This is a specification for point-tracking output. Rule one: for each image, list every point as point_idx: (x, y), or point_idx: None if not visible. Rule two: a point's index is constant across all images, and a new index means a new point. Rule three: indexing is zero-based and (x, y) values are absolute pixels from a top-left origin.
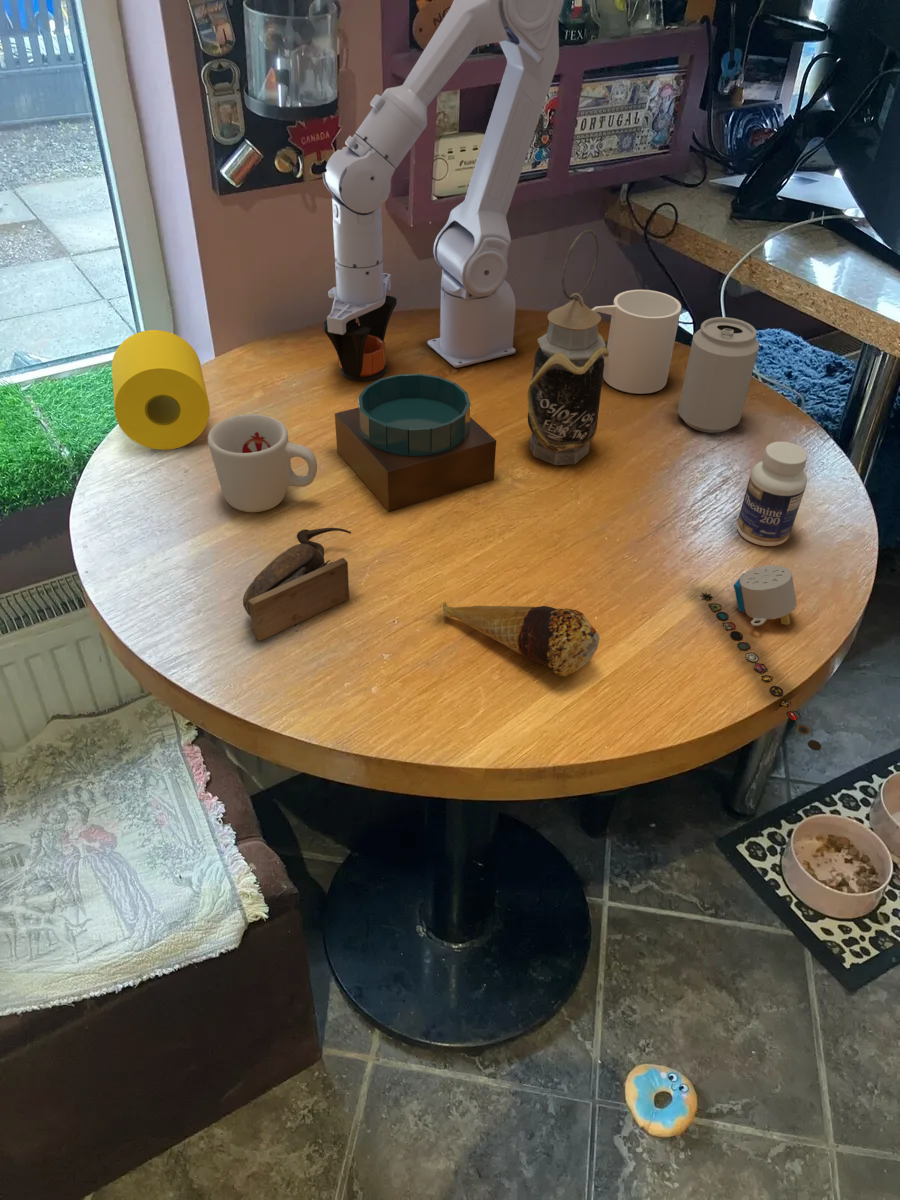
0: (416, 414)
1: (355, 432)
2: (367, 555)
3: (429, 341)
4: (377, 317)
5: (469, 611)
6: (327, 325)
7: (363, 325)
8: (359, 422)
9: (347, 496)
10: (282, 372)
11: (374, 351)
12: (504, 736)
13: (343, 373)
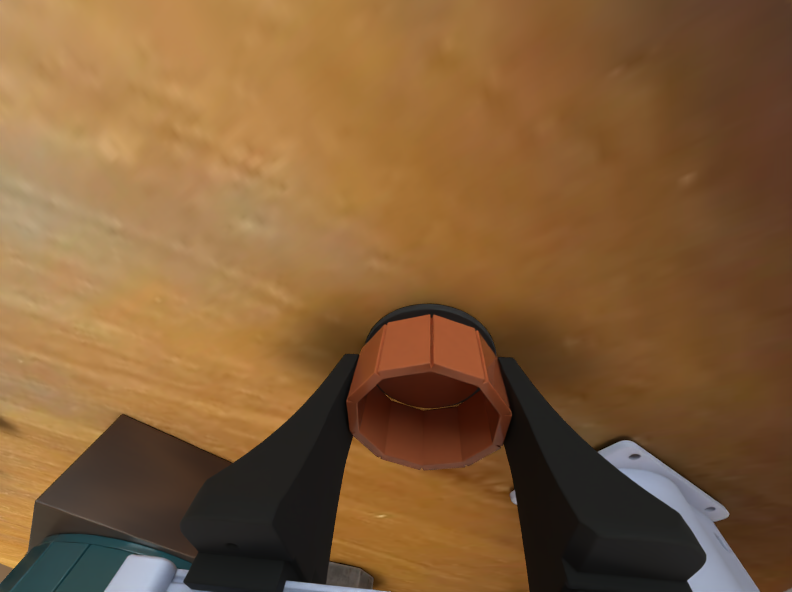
0: None
1: (36, 533)
2: (23, 488)
3: (626, 450)
4: (529, 520)
5: None
6: (188, 532)
7: (526, 436)
8: (34, 553)
9: (65, 451)
10: (287, 137)
11: (485, 396)
12: (13, 562)
13: (372, 333)
